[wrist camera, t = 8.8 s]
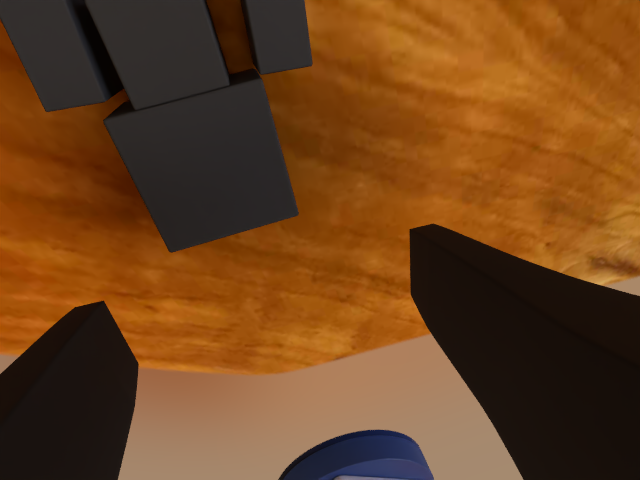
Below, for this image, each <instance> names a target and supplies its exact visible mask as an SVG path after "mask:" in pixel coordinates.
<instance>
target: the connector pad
mask: <svg viewBox="0 0 640 480" xmlns="http://www.w3.org/2000/svg"><path fill="white" fill-rule="evenodd" d="M84 1H85V4H86V6H87V8H88V10H89V12H90V14H91V17H92V19H93V21H94V23H95V25H96V28H97V30H98V32H99V34H100V36H101V38H102V41H103V43H104V45H105V47H106V49H107V52H108V54H109V56H110V58H111V60H112V62H113V65H114V67H115V69H116V71H117V73H118V76H119V78H120V80H121V82H122V84H123V86H124V89H125V91H126V93H127V95H128V97H129V100H130V101H128V102H124V103H123V104H122V105H120V106H119V107H118V108H117V109H116V110H115V111H113V112H112V113H111V114H110V115H109V116H108V117H107V118H105V119H104V120H103V122H104V125H105V126H106V128H107V130H108V132H109V134H110V136H111V138H112V140H113V142H114V144H115V146H116V148H117V150H118V152H119V154H120V156H121V158H122V160H123V162H124V164H125V166H126V168H127V170H128V172H129V174H130V176H131V178H132V180H133V182H134V183H135V185H136V187H137V189H138V191H139V193H140V195H141V197H142V199H143V201H144V203H145V205H146V207H147V209H148V211H149V213H150V215H151V217H152V219H153V221H154V223H155V225H156V227H157V229H158V231H159V233H160V235H161V237H162V239H163V240H164V242H165V244H166V246H167V248H168V250H169V252H175V251H179V250H182V249H185V248H189V247H192V246H196V245H199V244H203V243H206V242H209V241H213V240H216V239H220V238H223V237H226V236H230V235H233V234H237V233H240V232H243V231H247V230H250V229H254V228H257V227H260V226H264V225H267V224H271V223H274V222H278V221H281V220H284V219H288V218H291V217H295V216H297V215H298V214H299V212H298V208H297V205H296V201H295V198H294V194H293V190H292V187H291V183H290V179H289V176H288V172H287V168H286V165H285V161H284V157H283V154H282V150H281V146H280V143H279V139H278V135H277V132H276V128H275V124H274V121H273V117H272V113H271V110H270V106H269V102H268V99H267V95H266V91H265V88H264V84H263V81H262V79H261V77H260V76H259V74H258V72H257V71H256V69H250V70H246V71H242V72H239V73H235V74H231V75H229V72H228V69H227V66H226V62H225V59H224V56H223V53H222V50H221V47H220V43H219V40H218V37H217V34H216V31H215V27H214V24H213V21H212V18H211V15H210V12H209V8H208V5H207V2H206V0H84Z"/></svg>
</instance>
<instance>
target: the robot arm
mask: <svg viewBox="0 0 640 480" xmlns="http://www.w3.org/2000/svg"><path fill="white" fill-rule="evenodd" d="M410 278H411V296H412V298H413V300H414V302H415V304H416V306H417V308H418V310H419V312H420V314H421V316H422V318H423V320H424V322H425V324H426V326H427V328H428V329H429V331H430V332H431V334H432V335H433V336H434V338H435V340H436V341H437V342H438V344H439V345H440V347H441V348H442V350H443V351H444V353H445V354H446V355H447V357H448V359H449V360H450V361H451V363H452V364H453V366H454V367H455V368H456V370H457V371H458V373H459V374H460V376H461V377H462V379H463V380H464V381H465V383H466V384H467V386H468V387H469V389H470V390H471V392H472V393H473V395H474V396H475V397H476V399H477V400H478V402H479V403H480V405H481V406H482V407H483V409H484V411H485V412H486V414H487V416H488V417H489V419H490V420H491V422H492V423H493V425H494V427H495V429H496V430H497V432H498V434H499V436H500V438H501V439H502V441H503V443H504V445H505V447H506V448H507V450H508V452H509V454H510V455H511V457H512V459H513V461H514V462H515V464H516V466H517V468H518V470H519V472H520V474H521V476H522V477H523V479H524V480H640V296H637V295H633V294H629V293H626V292H622V291H618V290H615V289H612V288H608V287H604V286H601V285H597V284H594V283H590V282H587V281H584V280H581V279H577V278H574V277H571V276H568V275H565V274H562V273H559V272H557V271H554V270H551V269H548V268H545V267H542V266H539V265H537V264H534V263H531V262H529V261H526V260H523V259H521V258H518V257H516V256H513V255H510V254H508V253H505V252H503V251H501V250H498V249H496V248H493V247H491V246H488V245H486V244H483V243H481V242H479V241H476V240H474V239H472V238H469V237H467V236H464V235H462V234H460V233H457V232H455V231H452V230H450V229H447V228H445V227H442V226H439V225H436V224H430V225H425V226H421V227H417V228H413V229H410ZM138 365H139V364H138V362H137V360H136V358H135V356H134V355H133V353H132V351H131V349H130V347H129V346H128V344H127V342H126V340H125V338H124V337H123V335H122V333H121V331H120V329H119V328H118V326H117V324H116V322H115V320H114V318H113V317H112V315H111V313H110V311H109V309H108V308H107V306H106V304H105V302H104V301H100V302H96V303H91V304H87V305H83V306H79V307H75V308H74V309H72V310H71V311H70V312H69V313H67V314H66V315H65V316H64V317H62V318H61V319H60V320H59V321H58V322H57V323H55V324H54V325H53V326H52V327H51V328H50V329H49V330H48V331H47V332H46V333H44V334H43V335H42V336H41V337H40V338H39V339H38V340H37V341H36V342H35V343H34V344H32V345H31V346H30V347H29V348H28V349H27V350H26V351H25V352H24V353H23V354H22V355H21V356H20V357H18V358H17V359H16V360H15V361H14V362H13V363H12V364H11V365H10V366H9V367H8V368H7V369H6V370H4V371H3V372H2V373H1V374H0V480H118V476H119V472H120V468H121V464H122V459H123V455H124V451H125V447H126V443H127V438H128V434H129V429H130V425H131V420H132V416H133V412H134V407H135V399H136V390H137V378H138ZM334 480H411V479H396V478H380V477H365V476H349V475H340V476H337V477H335V478H334Z"/></svg>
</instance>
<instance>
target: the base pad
mask: <svg viewBox="0 0 640 480" xmlns="http://www.w3.org/2000/svg"><path fill="white" fill-rule="evenodd" d="M241 5H242V10H243V15H244V20H245V25H246V30H247V35H248V40H249V45H250V50H251V54H252V59H253V64H254V66H255V67H256V69H257V70H258V72H259V73H260V74H261V75H263V74H268V73H274V72H280V71H286V70H291V69H297V68H303V67H309V66H312V56H311V48H310V41H309V33H308V25H307V18H306V10H305V2H304V0H241ZM0 19H1V21H2V23H3V25H4V27H5V29H6V31H7V33H8V35H9V37H10V39H11V41H12V44H13V46H14V48H15V50H16V52H17V54H18V56H19V58H20V60H21V62H22V64H23V66H24V68H25V70H26V72H27V74H28V76H29V78H30V80H31V82H32V84H33V86H34V88H35V90H36V93H37V95H38V97H39V99H40V101H41V103H42V105H43V107H44V109H45V111H46V112H50V111H56V110H62V109H68V108H73V107H79V106H85V105H91V104H96V103H102V102H105V101H107V100H108V99H110V98H111V97H112V96H114V95H115V94H116V93H118V92H119V91H121V90H122V89H123V88H124V86H123V84H122V82H121V80H120V78H119V76H118V73H117V71H116V69H115V67H114V65H113V62H112V60H111V58H110V56H109V54H108V52H107V49H106V47H105V45H104V43H103V41H102V38H101V36H100V34H99V32H98V30H97V28H96V25H95V23H94V21H93V19H92V17H91V14H90V12H89V10H88V8H87V6H86V4H85V1H84V0H0Z"/></svg>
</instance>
